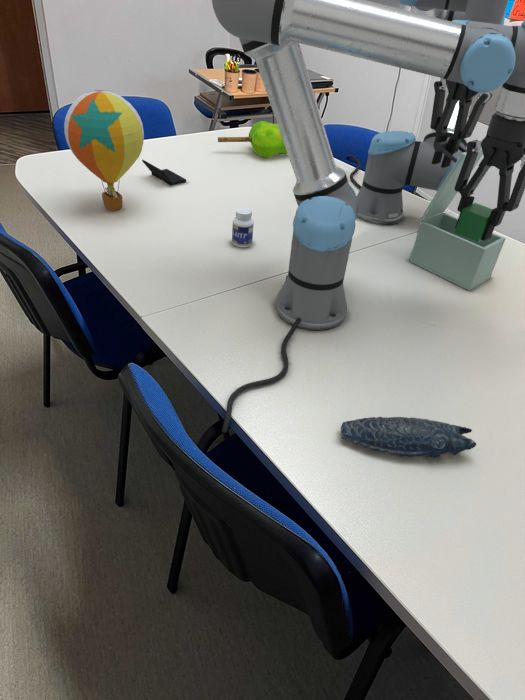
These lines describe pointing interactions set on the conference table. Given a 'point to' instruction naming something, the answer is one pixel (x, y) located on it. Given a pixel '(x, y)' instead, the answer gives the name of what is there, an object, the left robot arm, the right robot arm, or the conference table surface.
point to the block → (473, 221)
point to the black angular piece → (165, 175)
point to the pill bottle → (242, 228)
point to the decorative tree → (262, 139)
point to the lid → (447, 181)
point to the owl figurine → (407, 436)
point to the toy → (105, 138)
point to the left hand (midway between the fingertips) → (472, 232)
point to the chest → (454, 252)
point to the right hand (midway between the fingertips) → (440, 164)
